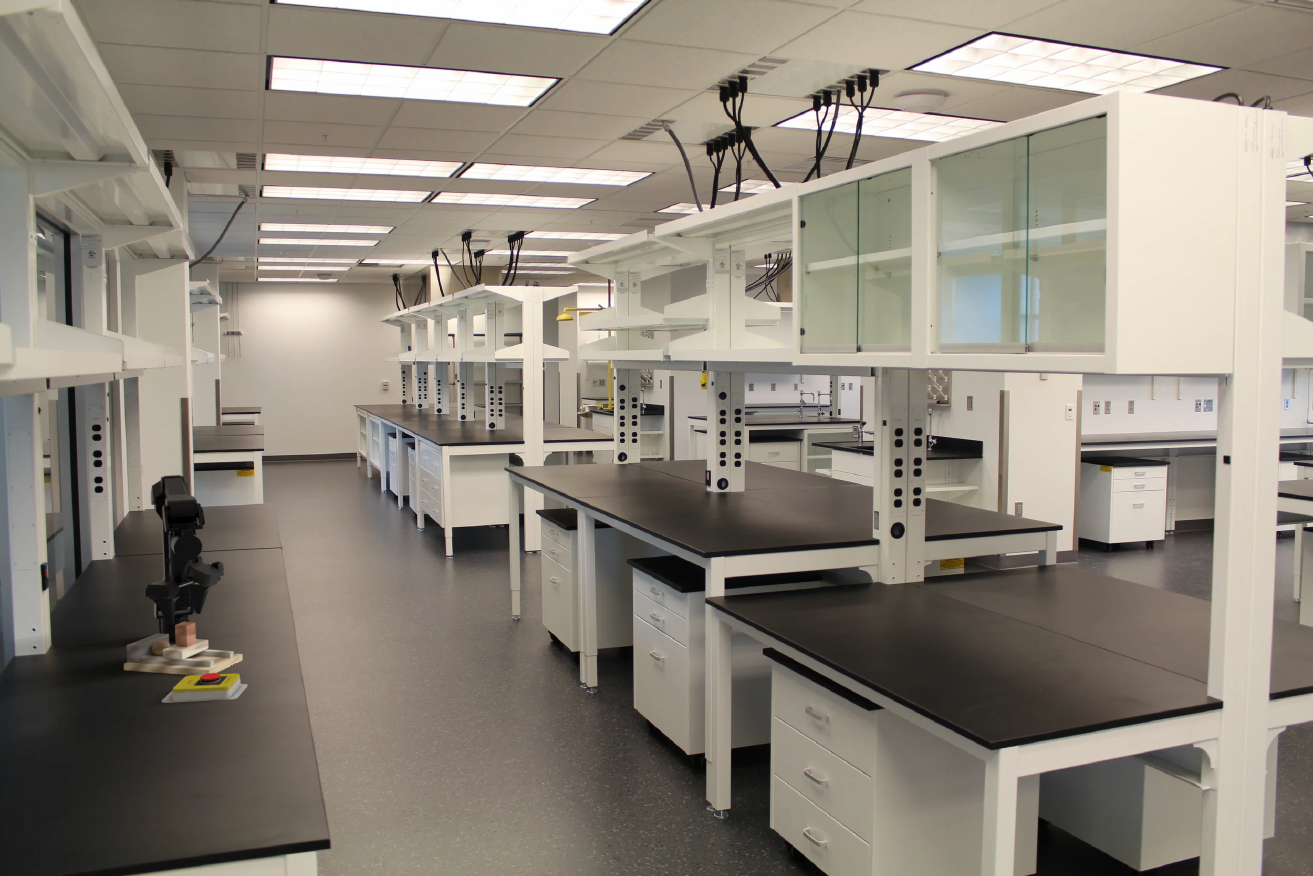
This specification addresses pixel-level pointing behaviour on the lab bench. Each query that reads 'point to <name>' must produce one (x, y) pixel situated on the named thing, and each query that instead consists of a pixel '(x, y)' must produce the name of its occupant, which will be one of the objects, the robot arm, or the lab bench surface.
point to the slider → (185, 642)
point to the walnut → (160, 647)
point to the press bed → (193, 665)
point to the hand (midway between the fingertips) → (185, 618)
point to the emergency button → (206, 688)
